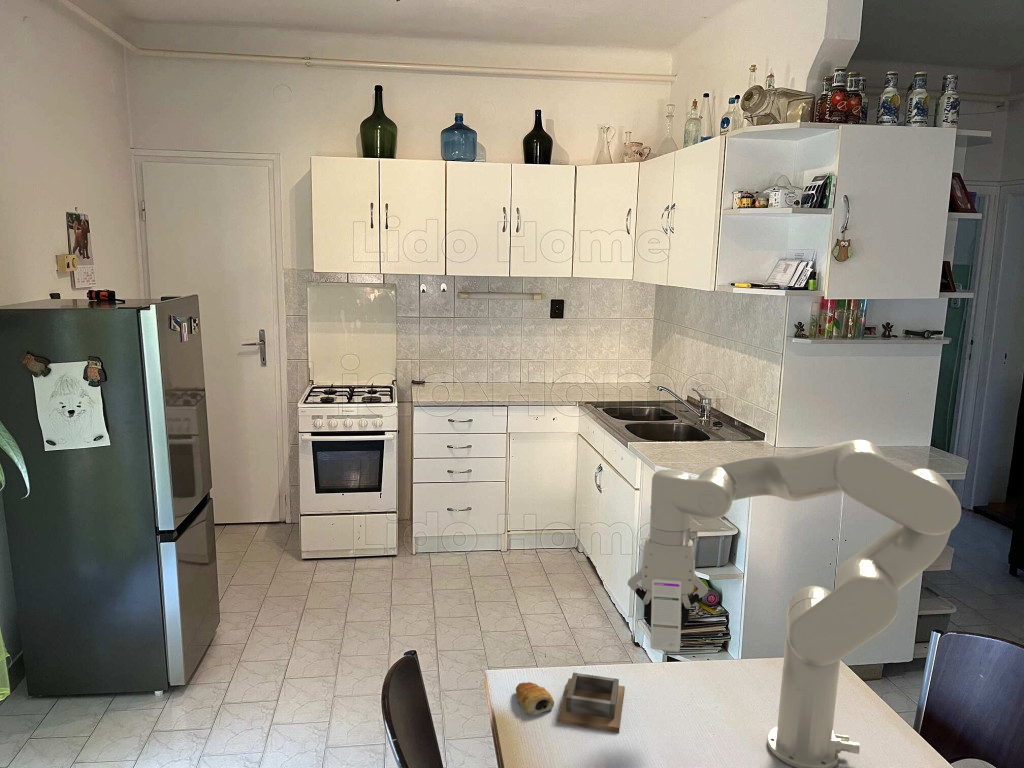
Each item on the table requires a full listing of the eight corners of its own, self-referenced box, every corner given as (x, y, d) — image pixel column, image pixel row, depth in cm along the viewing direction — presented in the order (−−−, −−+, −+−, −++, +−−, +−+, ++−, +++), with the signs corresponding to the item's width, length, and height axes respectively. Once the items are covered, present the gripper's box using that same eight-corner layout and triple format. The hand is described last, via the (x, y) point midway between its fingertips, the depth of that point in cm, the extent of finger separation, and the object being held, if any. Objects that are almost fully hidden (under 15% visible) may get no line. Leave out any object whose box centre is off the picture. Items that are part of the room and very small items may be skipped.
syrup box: (680, 652, 145) (683, 581, 143) (649, 649, 146) (652, 578, 144) (679, 638, 151) (683, 569, 148) (649, 635, 152) (652, 566, 150)
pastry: (507, 694, 158) (508, 677, 157) (535, 687, 161) (536, 670, 160) (528, 718, 149) (529, 701, 149) (557, 711, 152) (558, 693, 152)
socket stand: (624, 690, 160) (625, 673, 159) (619, 732, 145) (620, 713, 145) (568, 682, 162) (569, 665, 162) (557, 722, 148) (558, 704, 147)
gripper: (714, 531, 147) (710, 619, 150) (625, 524, 151) (622, 610, 153) (716, 545, 140) (711, 636, 142) (623, 537, 143) (620, 626, 146)
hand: (665, 621), depth 148 cm, fingers closed on syrup box, 5 cm apart
